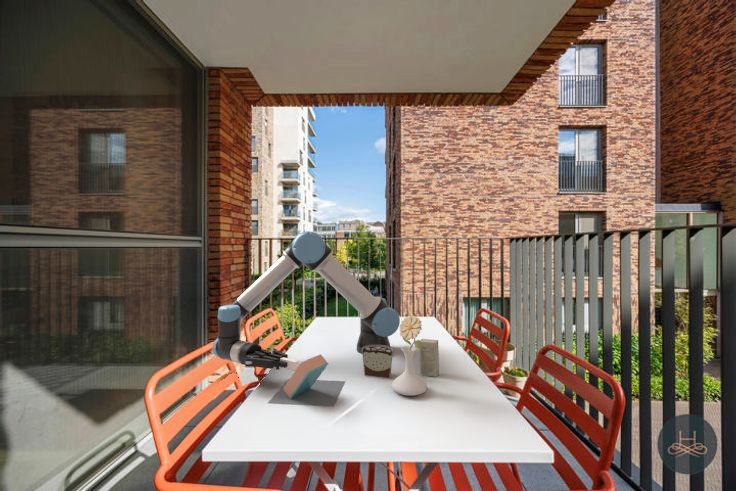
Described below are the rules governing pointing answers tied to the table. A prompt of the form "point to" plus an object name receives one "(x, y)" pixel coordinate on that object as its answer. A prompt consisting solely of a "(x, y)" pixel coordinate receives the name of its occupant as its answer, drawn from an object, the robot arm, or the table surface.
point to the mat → (312, 394)
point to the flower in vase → (409, 360)
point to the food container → (377, 360)
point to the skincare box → (429, 357)
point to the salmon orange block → (305, 376)
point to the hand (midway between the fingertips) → (296, 365)
